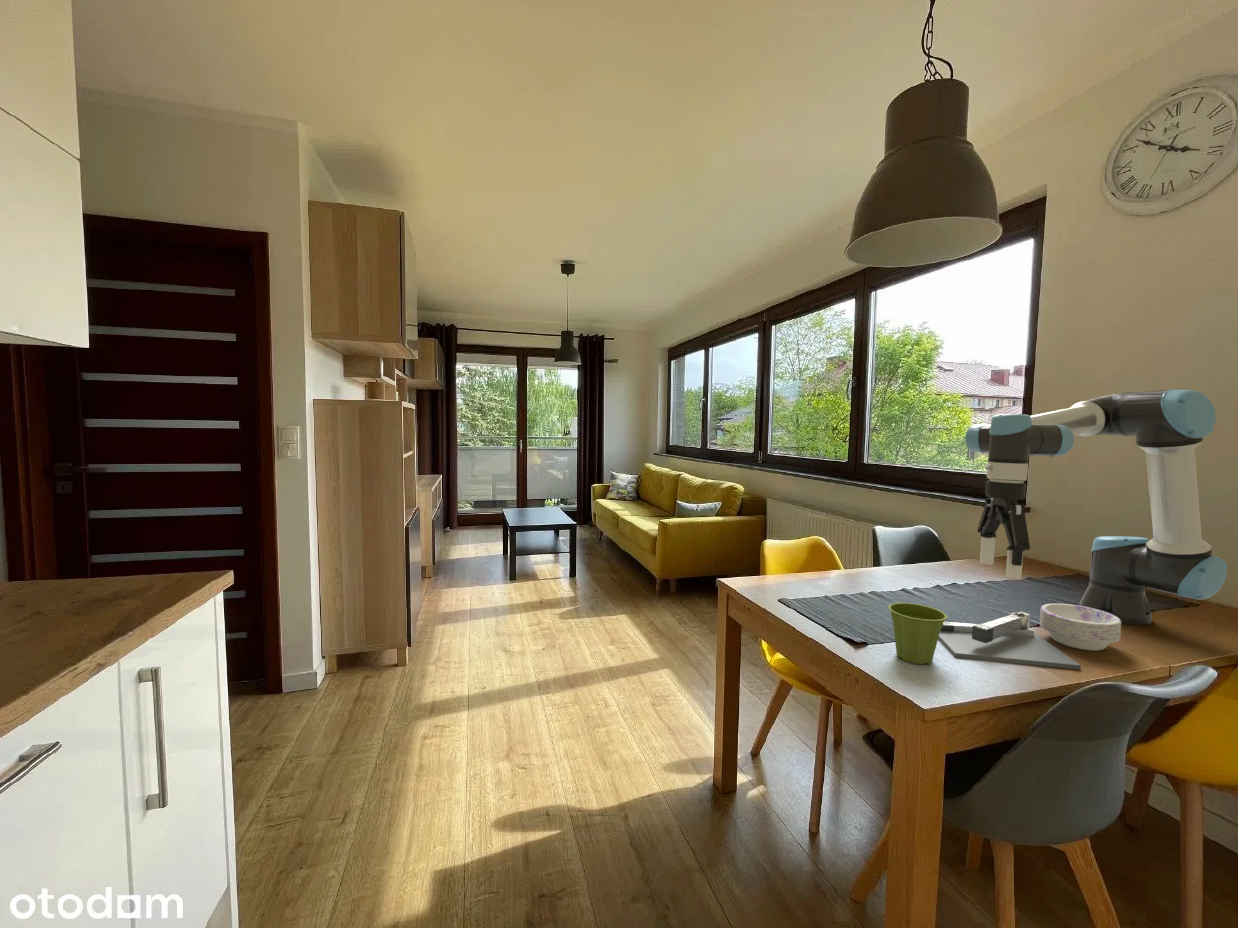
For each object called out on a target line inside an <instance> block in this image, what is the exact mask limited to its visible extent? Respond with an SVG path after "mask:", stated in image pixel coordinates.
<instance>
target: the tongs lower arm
mask: <svg viewBox="0 0 1238 928" xmlns="http://www.w3.org/2000/svg"><path fill="white" fill-rule="evenodd" d="M977 624H978V623H967V622H951V621H946V620H944V623H943V626H942V629H941V630H940V631H952V632H954V631H960V632H972V628H973V626H974V625H977ZM1034 633H1035V630H1034V629H1032V628H1031V627H1028V629H1027V630H1018V631H1016V632H1013V633H1010V634H1007V635H1018V636H1033V637H1034Z"/></svg>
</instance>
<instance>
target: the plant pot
mask: <svg viewBox="0 0 1238 928" xmlns="http://www.w3.org/2000/svg"><path fill="white" fill-rule="evenodd" d="M888 610H889V611H890V615H891V620H892V625H893V634H894V642H895V651H896V656H897V657H898V658H902V660H903V661H905V662H907V663H912V664H915V665H923V664H929V665H930V664H931V663H932V662H933V660H934V656H935V651H936V648H937V644H938V641H939V639H938V637H939V634H940V630H941V629H942V626H943V623H944V621H946V620H947V619H948V615H947V614H946V613H945V612H943V611H942V610H939V609H937V608H934V607H932V606H927V605H923V604H918V603H910V602H895V603H891V604H889V605H888Z"/></svg>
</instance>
